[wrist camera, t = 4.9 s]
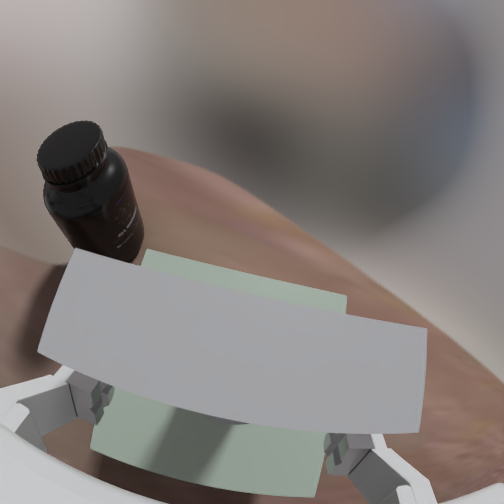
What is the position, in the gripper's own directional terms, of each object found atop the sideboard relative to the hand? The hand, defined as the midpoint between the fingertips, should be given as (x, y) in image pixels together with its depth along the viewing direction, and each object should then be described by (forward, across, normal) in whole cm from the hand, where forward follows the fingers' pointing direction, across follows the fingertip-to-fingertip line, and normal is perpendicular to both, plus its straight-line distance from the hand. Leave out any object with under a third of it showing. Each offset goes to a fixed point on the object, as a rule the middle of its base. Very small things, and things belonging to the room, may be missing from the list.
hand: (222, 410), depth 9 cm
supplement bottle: (+17, +13, +1) cm, 22 cm away
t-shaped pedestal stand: (+6, 0, +4) cm, 8 cm away
